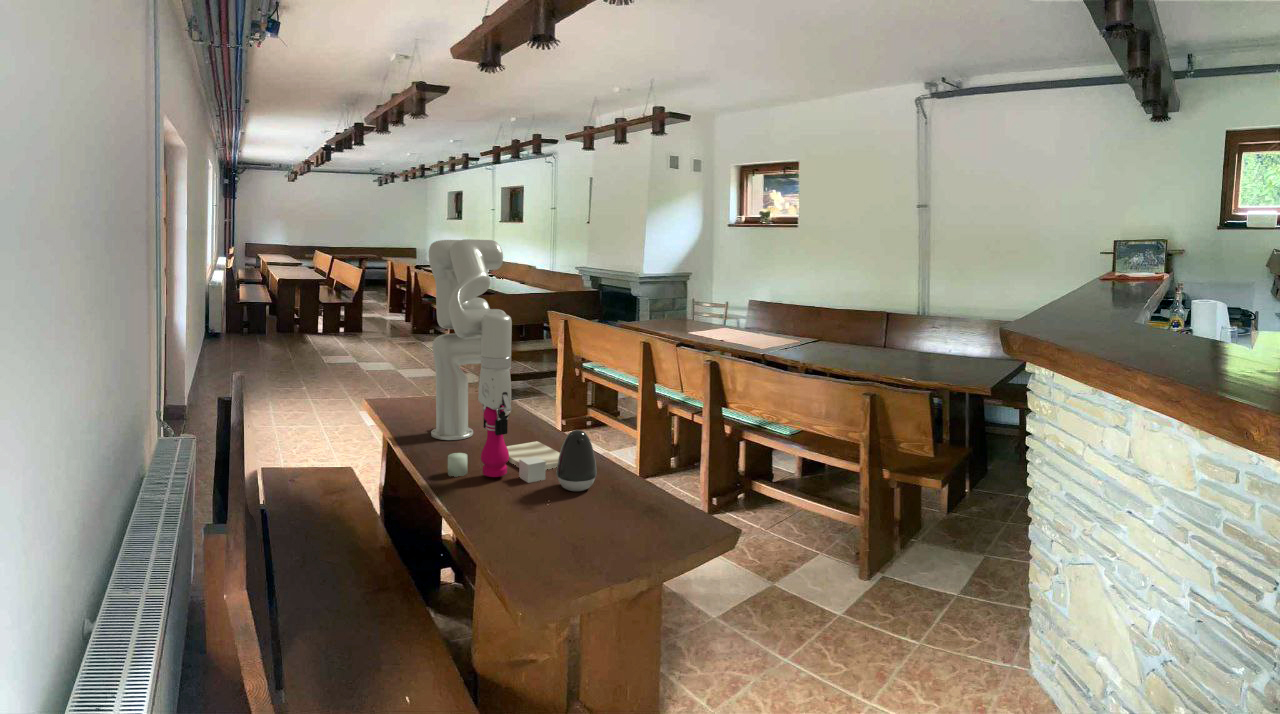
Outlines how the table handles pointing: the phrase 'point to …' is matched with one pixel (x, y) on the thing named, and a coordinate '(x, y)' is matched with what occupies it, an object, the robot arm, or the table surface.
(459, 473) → the sage cylinder
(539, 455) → the ash board
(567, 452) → the dark grey egg shape
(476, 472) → the table surface
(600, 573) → the table surface
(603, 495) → the table surface
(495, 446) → the pepper mill
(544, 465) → the grey block
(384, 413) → the table surface
